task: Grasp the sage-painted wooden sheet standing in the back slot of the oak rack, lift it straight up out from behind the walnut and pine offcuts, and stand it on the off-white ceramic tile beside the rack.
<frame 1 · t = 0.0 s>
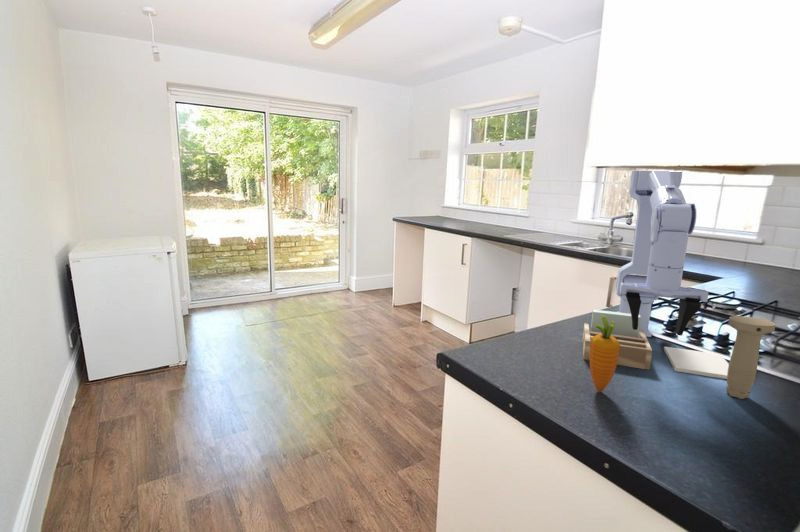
hand: (656, 330, 80), 10 cm above the worktop, fingers open, 7 cm apart
tile: (698, 363, 88), on the worktop
handle: (736, 396, 75), on the worktop
rack: (612, 352, 93), on the worktop
sheet: (611, 348, 96), resting in rack
carrot: (599, 392, 76), on the worktop
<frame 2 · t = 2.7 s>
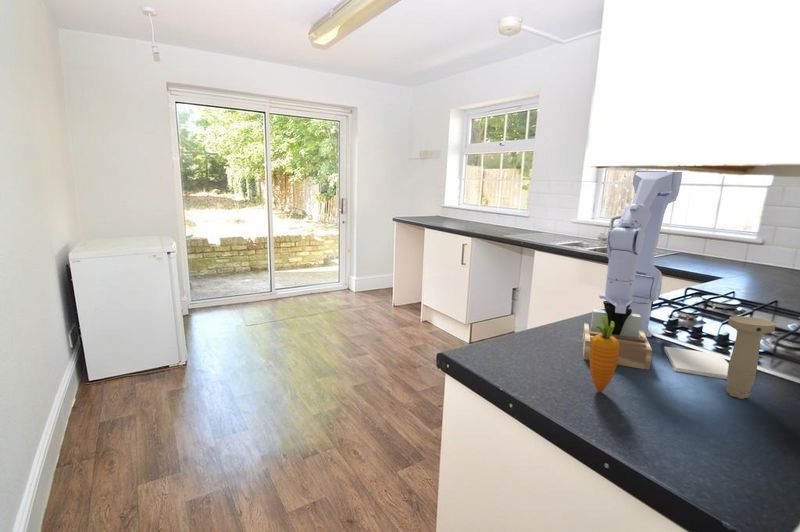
hand: (613, 332, 95), 4 cm above the worktop, fingers closed on sheet, 2 cm apart
sheet: (611, 348, 96), resting in rack, touching gripper
everything else where it was.
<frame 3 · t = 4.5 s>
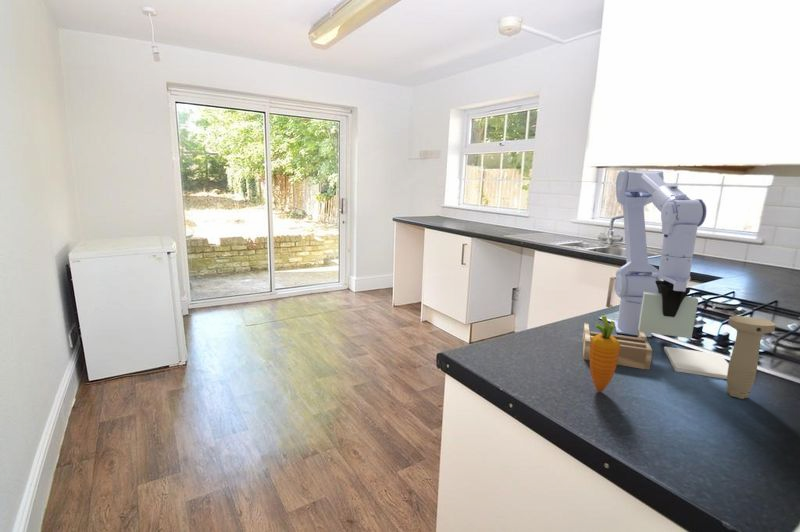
hand: (667, 314, 89), 10 cm above the worktop, fingers closed on sheet
sheet: (663, 333, 90), point 6 cm above the worktop, touching gripper
everything else where it was.
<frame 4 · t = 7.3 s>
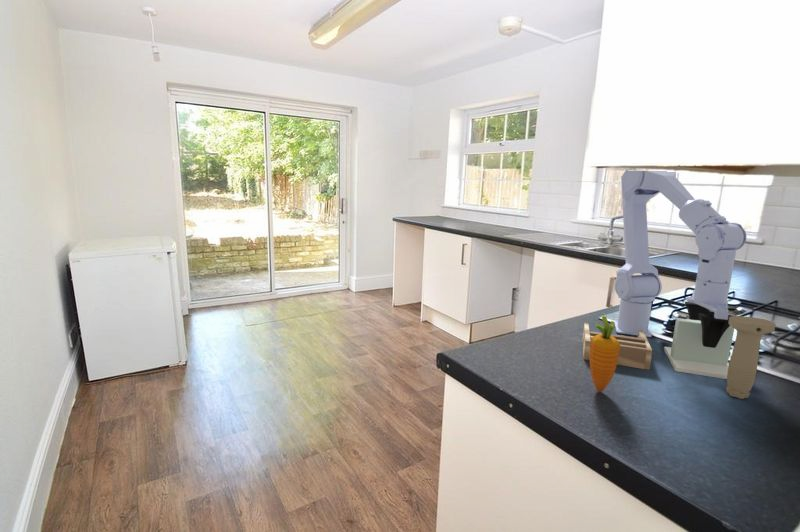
hand: (702, 340, 86), 6 cm above the worktop, fingers open, 7 cm apart
sheet: (697, 360, 87), point 1 cm above the worktop, touching tile
everything else where it was.
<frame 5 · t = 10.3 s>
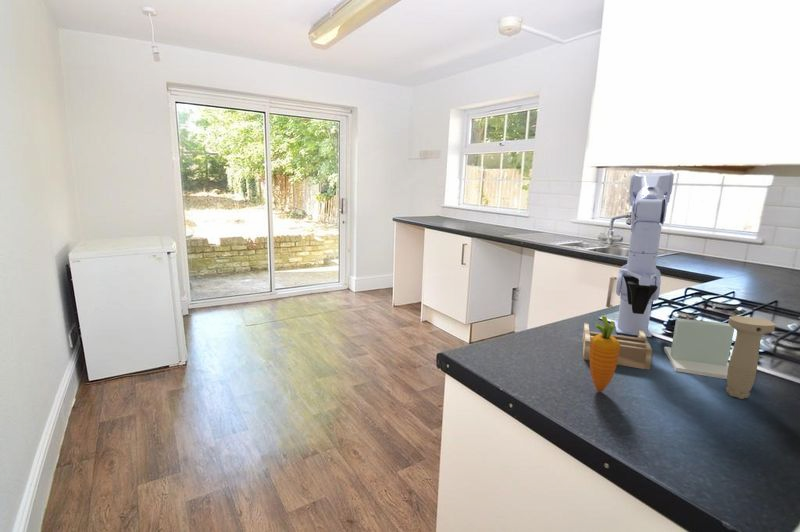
hand: (635, 308, 93), 10 cm above the worktop, fingers open, 7 cm apart
nothing on the worktop moved.
at the end: sheet inside the target area on the tile (0.2 cm from its centre), point 0.8 cm above the tile's base; sheet moved 16.9 cm from its start; the gripper is holding nothing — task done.
